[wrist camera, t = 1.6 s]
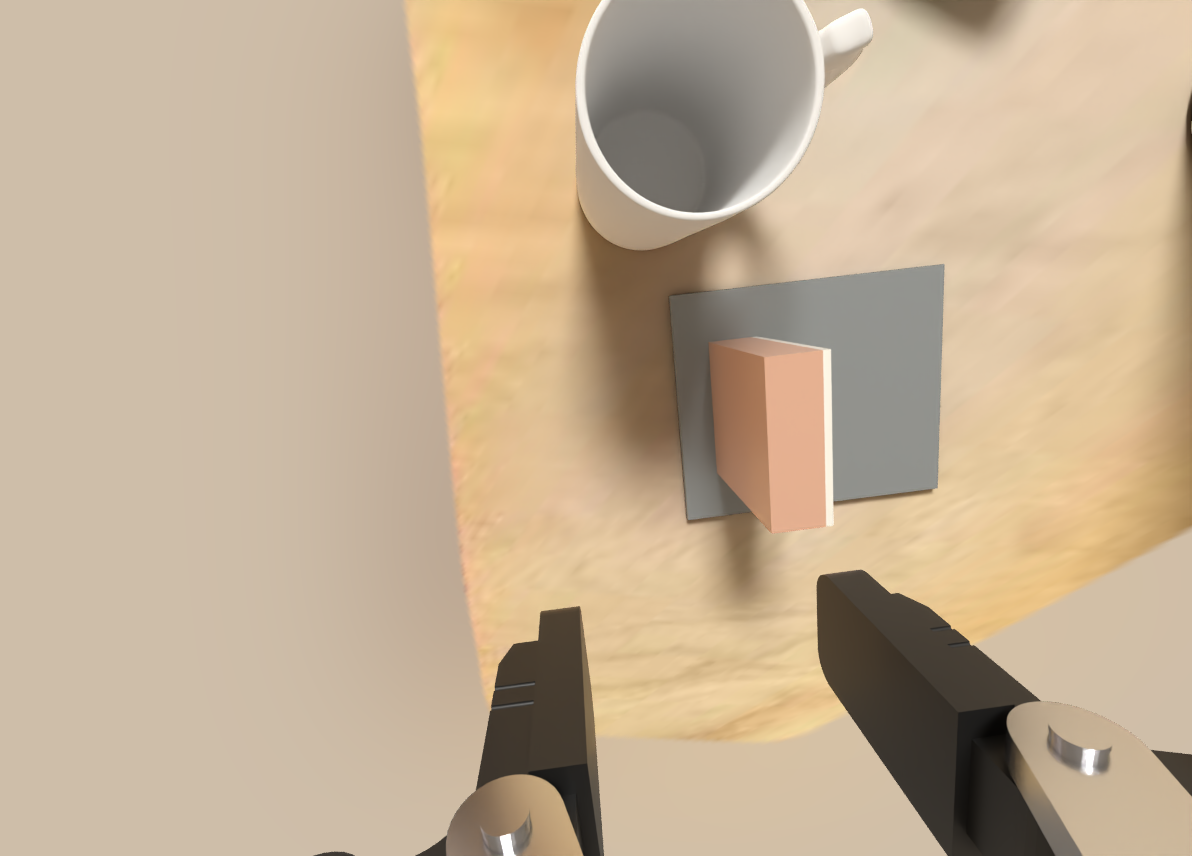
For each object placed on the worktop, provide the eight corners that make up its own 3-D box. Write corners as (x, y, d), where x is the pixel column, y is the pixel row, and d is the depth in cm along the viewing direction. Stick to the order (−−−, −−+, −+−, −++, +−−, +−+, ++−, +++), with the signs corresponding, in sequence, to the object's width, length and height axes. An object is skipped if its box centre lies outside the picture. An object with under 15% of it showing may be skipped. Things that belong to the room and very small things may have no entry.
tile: (756, 336, 28) (830, 349, 20) (762, 466, 30) (833, 525, 22) (708, 342, 28) (764, 357, 20) (716, 472, 29) (771, 533, 22)
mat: (939, 264, 28) (944, 264, 28) (932, 485, 31) (937, 488, 30) (668, 295, 28) (670, 295, 27) (686, 517, 30) (688, 520, 30)
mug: (602, 278, 27) (631, 259, 16) (547, 141, 26) (533, 7, 14) (791, 196, 27) (964, 114, 15) (746, 53, 25) (902, -160, 14)
